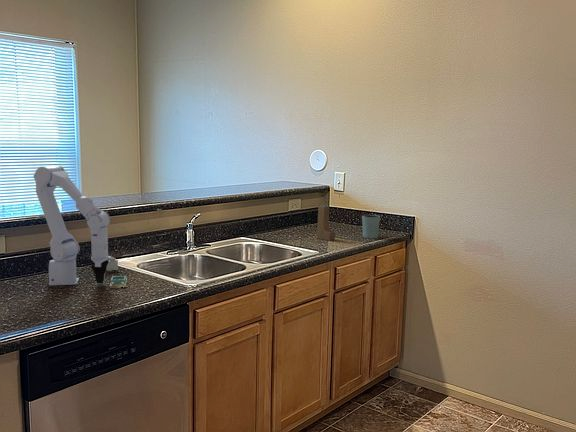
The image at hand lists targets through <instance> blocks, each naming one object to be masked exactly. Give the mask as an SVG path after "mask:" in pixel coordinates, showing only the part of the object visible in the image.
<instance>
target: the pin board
mask: <svg viewBox="0 0 576 432" xmlns="http://www.w3.org/2000/svg"><path fill="white" fill-rule="evenodd" d="M127 283H128V278H127V276H126V275H118V276H117V275H114V276H113V275H112V276H111V279H110V285H109V289H125V288H124V287H127ZM121 287H123V288H121Z"/></svg>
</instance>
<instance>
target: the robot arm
mask: <svg viewBox="0 0 576 432" xmlns="http://www.w3.org/2000/svg"><path fill="white" fill-rule="evenodd" d="M33 179H34V181H35V193H36V196H37V198H38V201H39V204H40V207H41V210H42V212H43V215H44V218H45V220H46V224H47V227H48V229H49V231H50V234H51V236H52V237H51V239H50V241H49V246H50V252H49V253H50V256H51V258H52V259H51V260H49V263H48V281H49V282H48V286H67V285H68V286H74V285H75V286H76V285H77V284H78V282H79V280H80V278H79V277H77V257H78V256H77V255H78V254H79V252H80V250H81V249H80V248H81V247H80V245H79V243H78V241H77V240H75V237H74V235H73V234H71V233H70V232H68V230H67V227H66V224H65V221H64V219H63V216H62V213H61V210H60V208H59V204H58V202H57V200H56V197H55V194H54V191H55V190H56V188H57V187H59V188H61V189H62V190H63V191H64V192H65V193H66V195H68V196H69V197H70V198H71V199H72V200H73V201H74V202H75V208H76V209H77V210H78V211H79V212H80V213H81V215H82V216H83V217H84V218H85V219H86V220H87V221H86V224H87V227H88V228H89V231H90V238H91V239H90V241H91V242H90V243H91V249H90V250H91V257H90V259H91V261H92V263H91V265H90V267H91V269H92V271H93V273H94V277H95V280H96V281H95V282H97V283H103V281H104V274H105V275H106V271H107V264H108V262H109V259H111V258H112V256H110V255H109V242H108V241H109V239H108V226H109V225H110V224H111V216H110V215H109V213H108V212H106V211H103V210H102V209H100V208H99V207H98V206H97V205H96V204H95V203H94V199H93V198H92V197H89V196H84V195H83V193H81V191H80V190H79V188H78V187H77V186H76V184H75V183H74V182H73V181H72V180H71V178H70V177H69V172H68V171H66V170H65V168H64V167H63V166H61V165H58V164H56V165H50V166H39V167H37V169H36V170H35V172H34V174H33Z"/></svg>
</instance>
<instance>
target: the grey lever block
mask: <svg viewBox="0 0 576 432" xmlns="http://www.w3.org/2000/svg"><path fill="white" fill-rule="evenodd" d="M108 260H109V262H108V264H107V267H106V271H107V270H108V271H110V272H112V271H111V270H116V271H118V270H119V262H118V261H119V260H118V259H116V258H115V257H111V259H108ZM108 271H107V272H108Z"/></svg>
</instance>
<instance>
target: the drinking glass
mask: <svg viewBox="0 0 576 432" xmlns="http://www.w3.org/2000/svg"><path fill="white" fill-rule="evenodd" d="M361 219H362V222H361V223H362V238H364V237H365V239H378V238H379V229H380V222H381V216H380V215H378V214H363V215H362V216H361Z"/></svg>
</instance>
